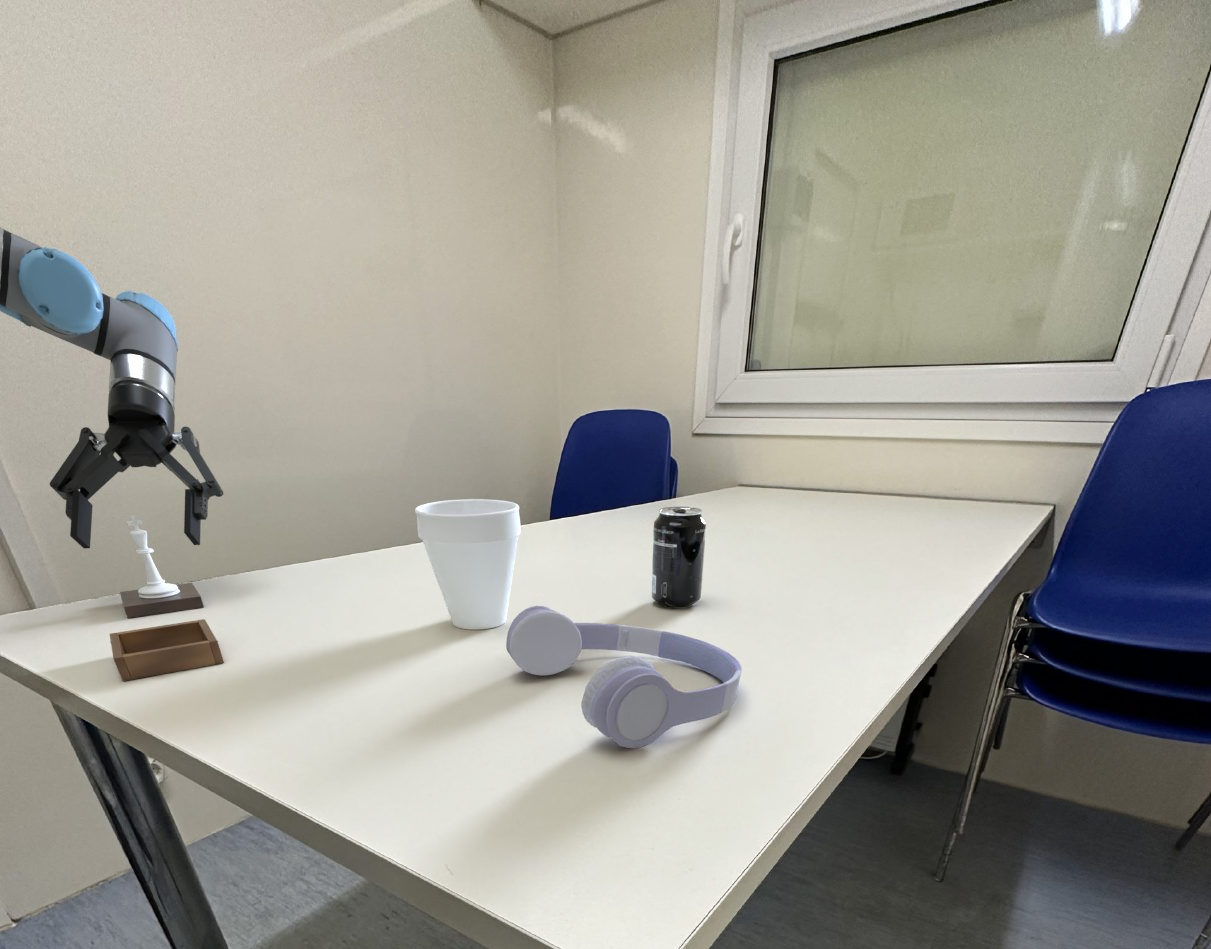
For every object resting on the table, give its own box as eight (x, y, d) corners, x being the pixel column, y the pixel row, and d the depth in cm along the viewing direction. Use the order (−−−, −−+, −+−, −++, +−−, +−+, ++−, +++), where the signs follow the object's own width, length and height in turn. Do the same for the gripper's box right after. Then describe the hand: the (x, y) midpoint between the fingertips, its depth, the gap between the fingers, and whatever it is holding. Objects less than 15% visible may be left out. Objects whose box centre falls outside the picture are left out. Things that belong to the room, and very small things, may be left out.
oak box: (122, 681, 69) (113, 658, 68) (118, 655, 76) (109, 633, 75) (224, 662, 74) (217, 640, 72) (211, 639, 81) (204, 618, 79)
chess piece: (133, 594, 92) (104, 516, 87) (171, 587, 95) (145, 511, 90) (147, 600, 89) (117, 520, 84) (185, 593, 93) (159, 515, 87)
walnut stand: (128, 618, 88) (123, 607, 87) (124, 602, 94) (119, 591, 93) (204, 607, 92) (200, 596, 91) (195, 592, 98) (192, 582, 98)
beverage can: (693, 595, 96) (699, 505, 90) (706, 609, 90) (713, 513, 84) (647, 597, 95) (649, 506, 89) (656, 611, 90) (660, 514, 83)
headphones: (596, 758, 54) (785, 723, 63) (601, 675, 51) (800, 649, 59) (499, 671, 71) (659, 652, 79) (497, 603, 67) (665, 591, 76)
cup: (511, 639, 80) (502, 516, 73) (415, 633, 82) (396, 513, 75) (537, 609, 90) (531, 499, 83) (451, 605, 92) (437, 497, 85)
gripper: (249, 424, 97) (249, 554, 93) (62, 425, 94) (52, 560, 90) (226, 380, 90) (225, 519, 86) (22, 380, 87) (10, 525, 82)
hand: (136, 540), depth 88 cm, fingers open, 13 cm apart
